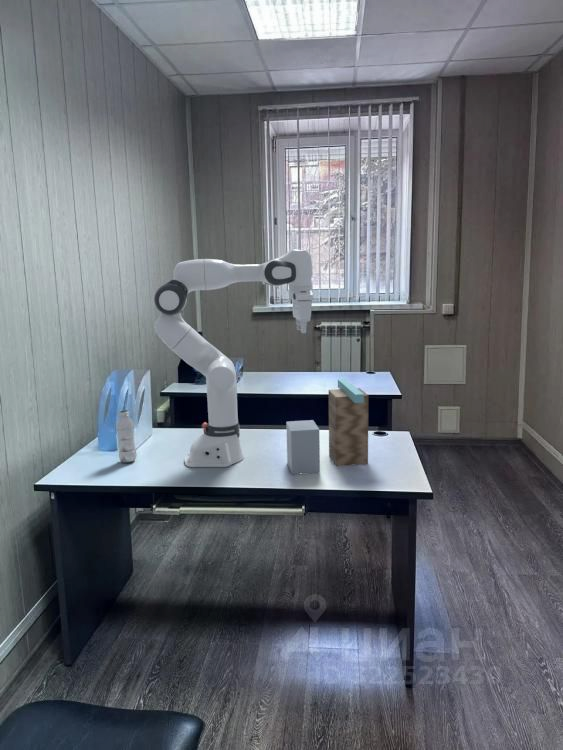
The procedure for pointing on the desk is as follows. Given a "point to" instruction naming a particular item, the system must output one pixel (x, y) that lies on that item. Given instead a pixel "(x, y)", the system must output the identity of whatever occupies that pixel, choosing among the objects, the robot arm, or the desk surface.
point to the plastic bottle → (126, 437)
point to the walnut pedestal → (348, 429)
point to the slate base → (303, 447)
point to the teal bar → (351, 391)
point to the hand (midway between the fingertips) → (301, 331)
